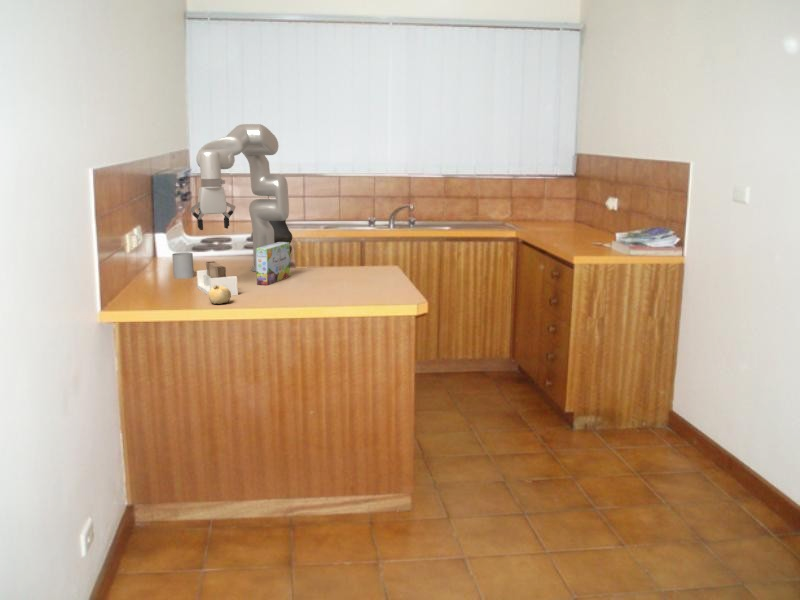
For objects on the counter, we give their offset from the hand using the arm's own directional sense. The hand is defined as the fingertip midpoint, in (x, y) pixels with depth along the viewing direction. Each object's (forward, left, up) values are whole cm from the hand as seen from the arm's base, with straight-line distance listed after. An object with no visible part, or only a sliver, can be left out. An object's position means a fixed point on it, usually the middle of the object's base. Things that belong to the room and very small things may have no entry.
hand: (213, 228), depth 298 cm
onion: (+5, +22, -24) cm, 34 cm away
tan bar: (0, 0, -19) cm, 19 cm away
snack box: (-27, -11, -25) cm, 38 cm away
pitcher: (-50, -78, -24) cm, 95 cm away
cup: (+4, -38, -24) cm, 45 cm away
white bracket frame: (0, 0, -24) cm, 24 cm away
